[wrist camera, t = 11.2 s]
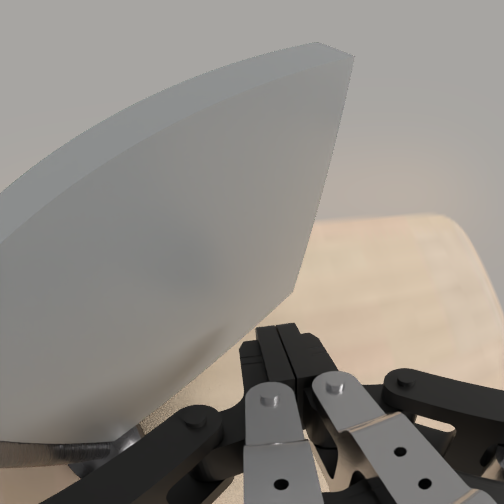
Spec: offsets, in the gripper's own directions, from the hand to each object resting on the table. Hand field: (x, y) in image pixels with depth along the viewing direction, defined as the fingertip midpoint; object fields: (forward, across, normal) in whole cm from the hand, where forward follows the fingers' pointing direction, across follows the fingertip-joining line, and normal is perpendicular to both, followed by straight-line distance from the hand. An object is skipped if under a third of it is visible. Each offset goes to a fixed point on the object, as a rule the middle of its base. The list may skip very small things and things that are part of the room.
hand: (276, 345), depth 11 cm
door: (+4, -4, -3) cm, 7 cm away
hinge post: (+2, -11, -8) cm, 13 cm away
